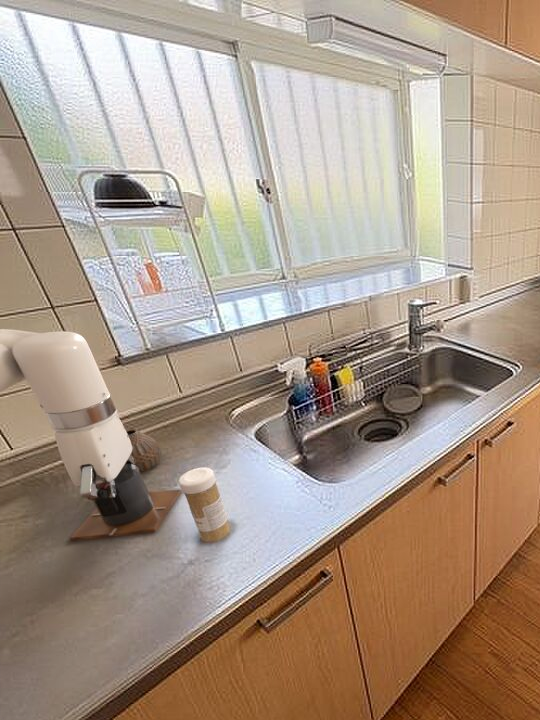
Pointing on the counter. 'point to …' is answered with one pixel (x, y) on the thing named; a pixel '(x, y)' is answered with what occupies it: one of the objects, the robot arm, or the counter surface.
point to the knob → (129, 496)
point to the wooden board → (147, 523)
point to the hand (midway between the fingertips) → (124, 498)
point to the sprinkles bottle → (205, 504)
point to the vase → (144, 450)
